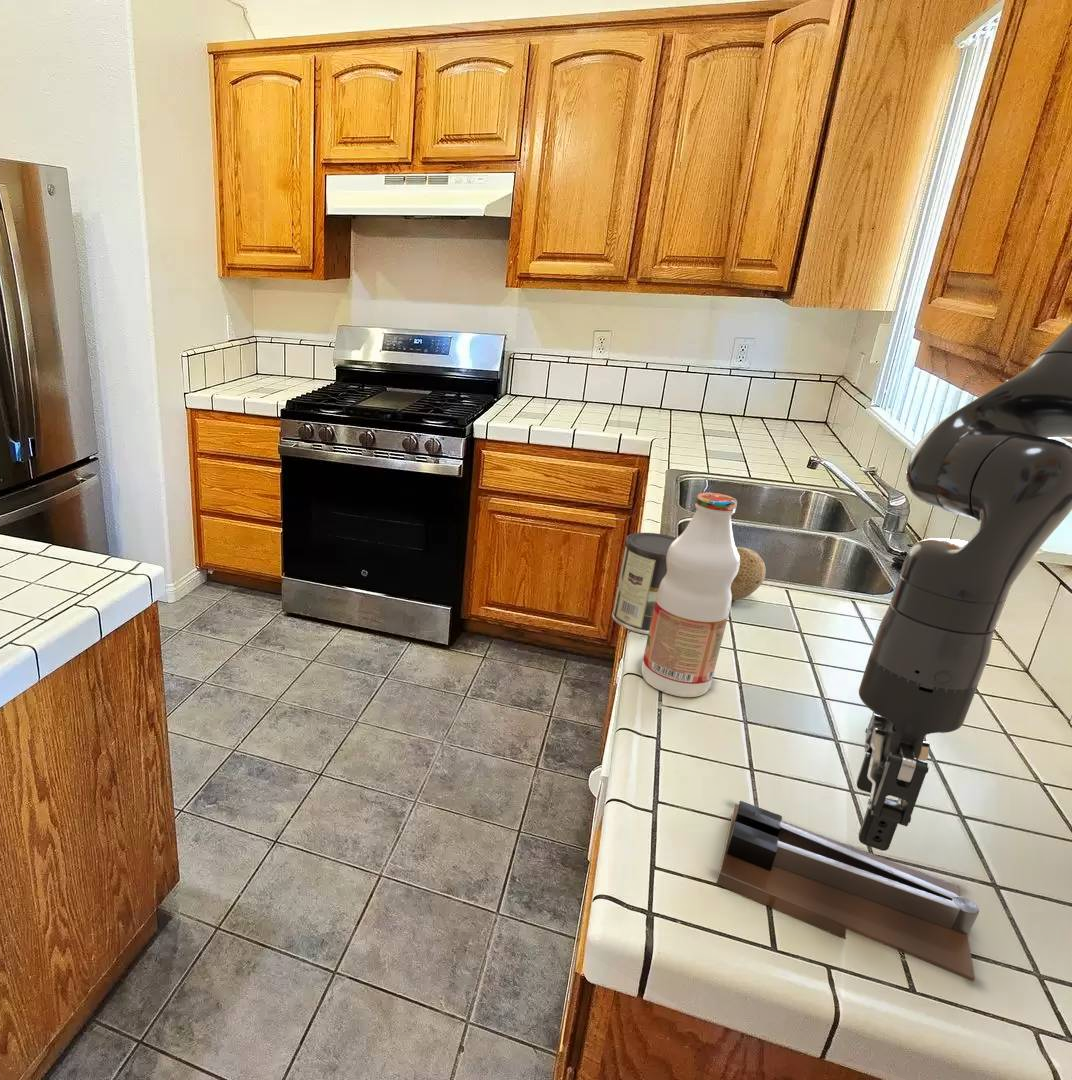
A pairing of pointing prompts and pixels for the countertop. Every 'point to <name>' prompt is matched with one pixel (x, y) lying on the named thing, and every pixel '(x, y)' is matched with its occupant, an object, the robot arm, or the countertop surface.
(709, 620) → the fruit juice
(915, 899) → the tongs
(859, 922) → the board
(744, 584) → the natural sponge
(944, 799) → the countertop surface
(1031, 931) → the countertop surface
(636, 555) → the coffee can
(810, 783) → the countertop surface
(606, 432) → the countertop surface
